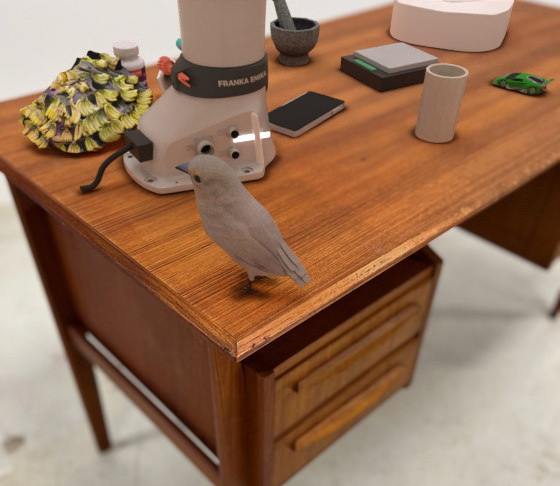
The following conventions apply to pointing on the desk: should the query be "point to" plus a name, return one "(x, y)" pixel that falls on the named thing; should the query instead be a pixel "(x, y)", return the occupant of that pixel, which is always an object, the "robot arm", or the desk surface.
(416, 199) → the desk surface
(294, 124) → the smartphone
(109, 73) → the banana patterned fabric
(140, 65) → the pill bottle
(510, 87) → the toy car
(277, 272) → the bird
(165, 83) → the long cone
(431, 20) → the tissue box
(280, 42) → the mortar and pestle
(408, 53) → the scale
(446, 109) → the cup
